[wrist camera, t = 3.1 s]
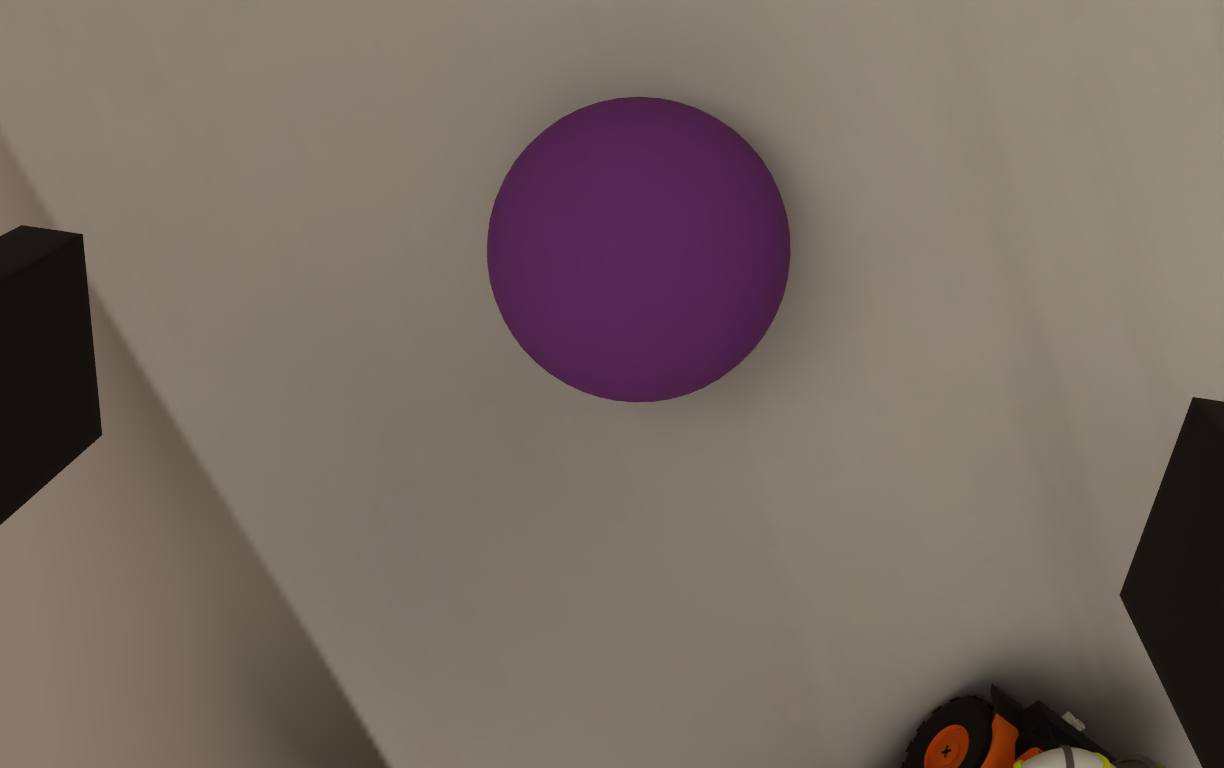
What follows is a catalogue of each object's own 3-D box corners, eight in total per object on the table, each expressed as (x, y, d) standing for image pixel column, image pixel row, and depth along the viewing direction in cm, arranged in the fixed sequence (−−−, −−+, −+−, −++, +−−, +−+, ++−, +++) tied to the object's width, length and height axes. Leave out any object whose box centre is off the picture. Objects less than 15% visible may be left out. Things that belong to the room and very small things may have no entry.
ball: (508, 313, 22) (447, 431, 18) (528, 54, 20) (464, 113, 16) (761, 350, 22) (764, 478, 18) (809, 91, 20) (825, 162, 15)
